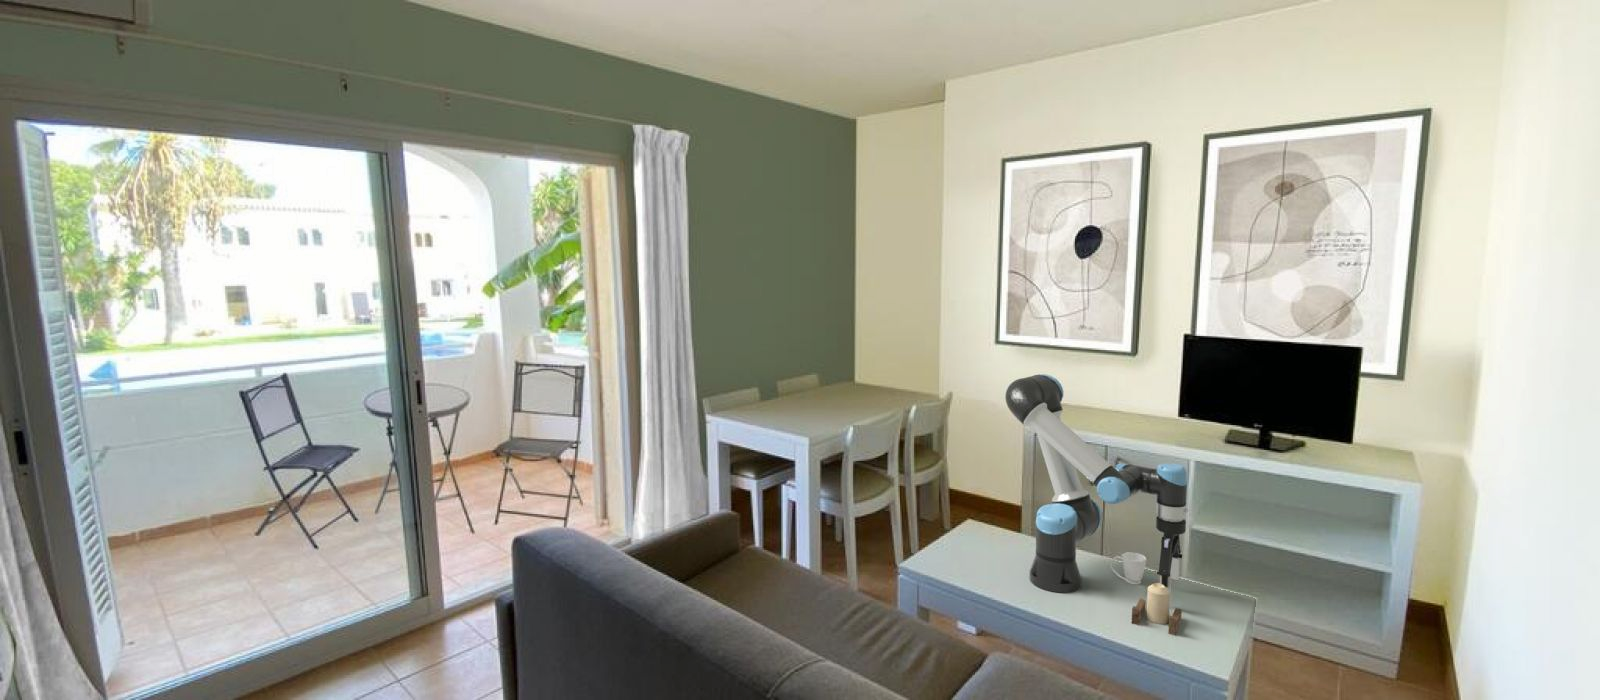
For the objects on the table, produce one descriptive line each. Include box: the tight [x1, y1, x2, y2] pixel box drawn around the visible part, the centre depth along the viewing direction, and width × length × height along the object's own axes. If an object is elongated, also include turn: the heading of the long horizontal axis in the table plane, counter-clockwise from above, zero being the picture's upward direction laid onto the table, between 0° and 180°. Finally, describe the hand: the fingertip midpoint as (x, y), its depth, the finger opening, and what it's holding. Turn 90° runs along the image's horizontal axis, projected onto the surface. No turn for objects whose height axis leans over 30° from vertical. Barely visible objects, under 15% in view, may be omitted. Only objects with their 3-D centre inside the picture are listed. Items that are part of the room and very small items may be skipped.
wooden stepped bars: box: [1131, 598, 1183, 636], centre depth 184 cm, size 10×10×4 cm
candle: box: [1146, 582, 1171, 625], centre depth 185 cm, size 6×6×10 cm
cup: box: [1110, 551, 1147, 585], centre depth 208 cm, size 7×10×8 cm
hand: (1169, 587), depth 196 cm, fingers open, 13 cm apart
